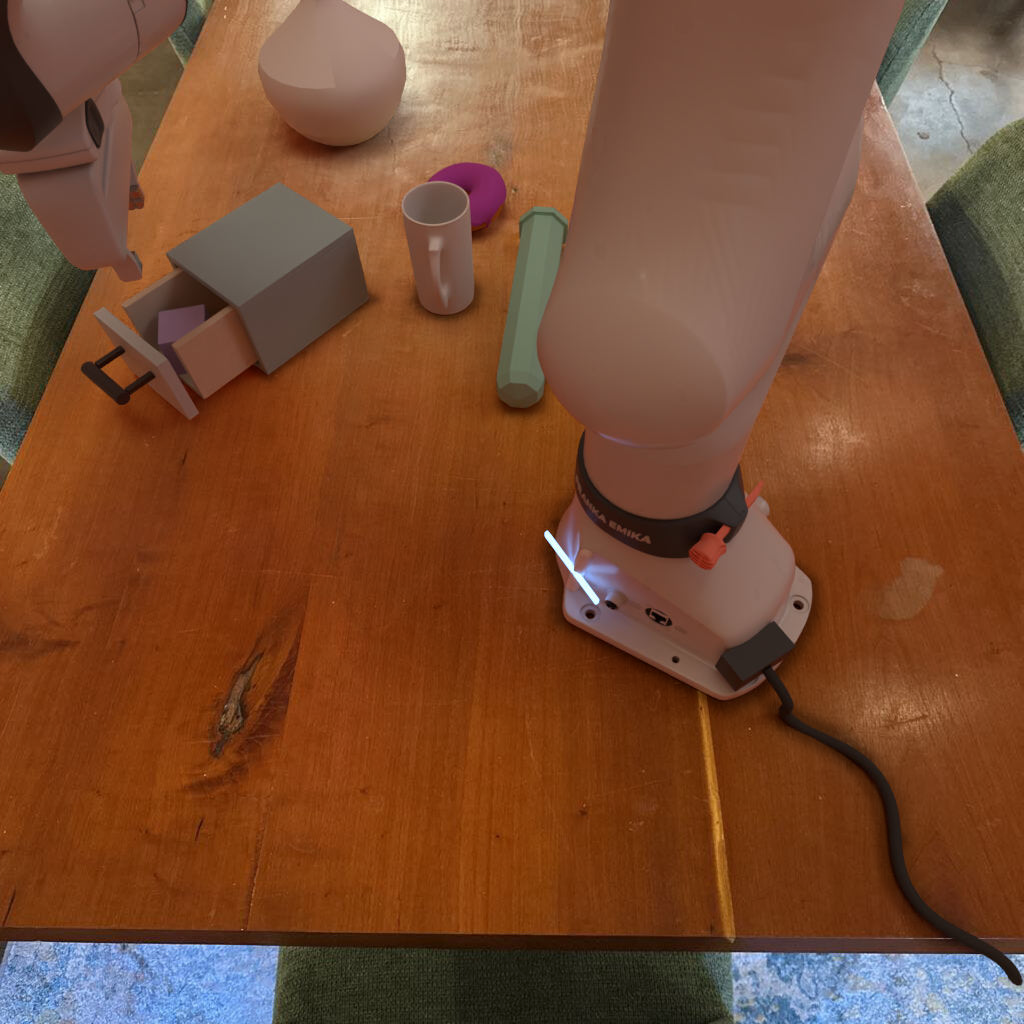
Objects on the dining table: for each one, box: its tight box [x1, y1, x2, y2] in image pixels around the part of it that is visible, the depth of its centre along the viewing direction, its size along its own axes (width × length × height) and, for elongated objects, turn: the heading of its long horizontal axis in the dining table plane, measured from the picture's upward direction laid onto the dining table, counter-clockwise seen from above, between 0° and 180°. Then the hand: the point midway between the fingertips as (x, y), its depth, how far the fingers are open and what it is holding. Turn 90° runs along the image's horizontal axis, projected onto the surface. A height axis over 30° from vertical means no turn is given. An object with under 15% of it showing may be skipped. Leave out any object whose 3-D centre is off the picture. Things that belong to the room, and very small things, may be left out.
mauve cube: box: [158, 304, 211, 375], centre depth 77 cm, size 4×4×4 cm
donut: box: [426, 161, 508, 233], centre depth 90 cm, size 10×10×5 cm
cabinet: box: [165, 181, 370, 376], centre depth 80 cm, size 15×12×10 cm
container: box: [495, 205, 569, 409], centre depth 80 cm, size 6×6×25 cm
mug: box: [400, 181, 475, 316], centre depth 79 cm, size 10×7×12 cm, turn 179°
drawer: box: [80, 267, 258, 421], centre depth 76 cm, size 18×10×8 cm, turn 139°
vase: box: [257, 0, 407, 147], centre depth 94 cm, size 18×18×19 cm
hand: (134, 238), depth 66 cm, fingers open, 8 cm apart
